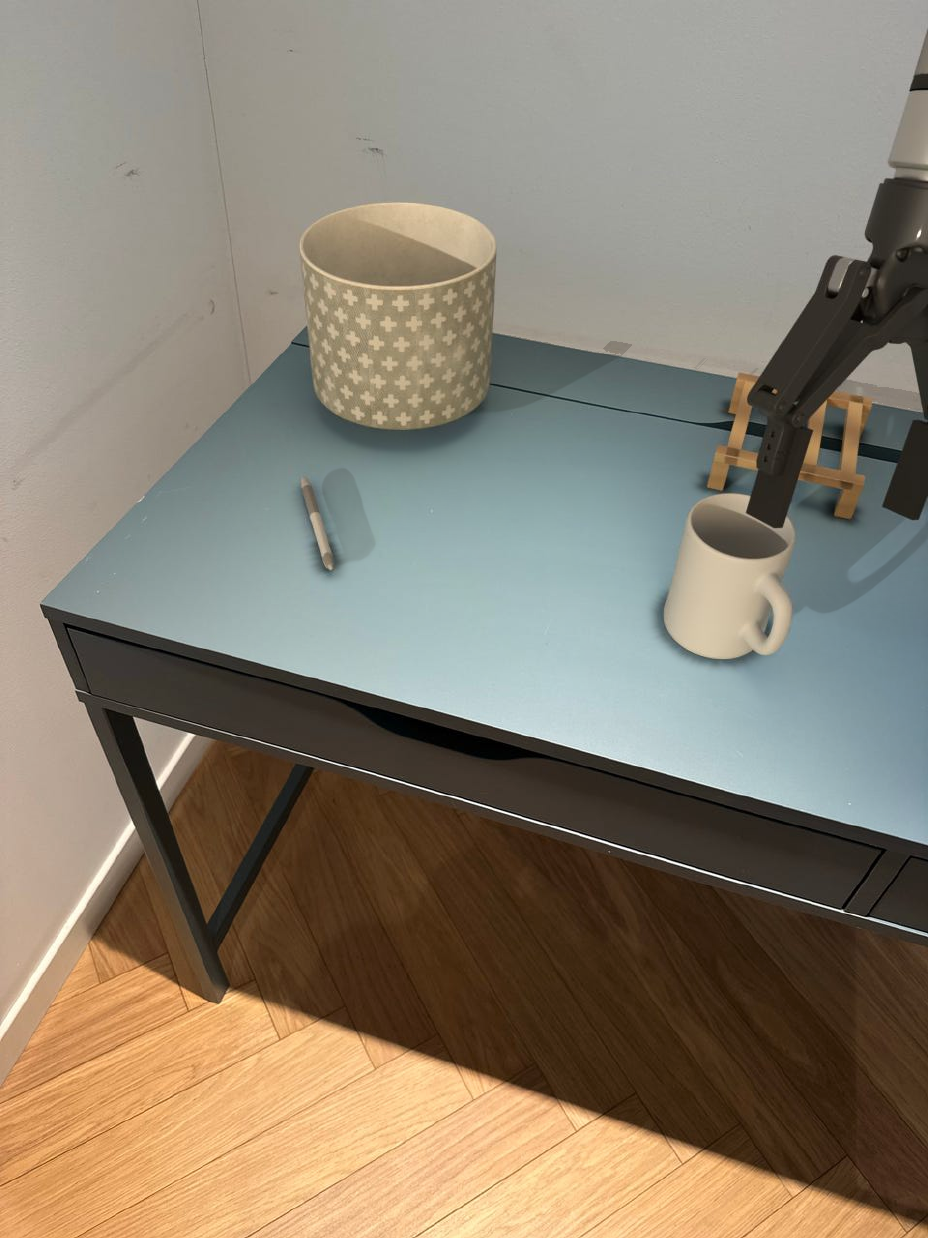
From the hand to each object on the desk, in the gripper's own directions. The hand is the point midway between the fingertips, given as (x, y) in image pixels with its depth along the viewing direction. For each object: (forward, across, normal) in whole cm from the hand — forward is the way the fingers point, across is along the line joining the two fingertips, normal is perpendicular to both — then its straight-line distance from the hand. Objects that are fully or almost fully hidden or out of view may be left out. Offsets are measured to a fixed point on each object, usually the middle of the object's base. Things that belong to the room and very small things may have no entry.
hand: (835, 517), depth 66 cm
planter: (+7, +8, -52) cm, 54 cm away
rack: (+5, -24, -26) cm, 36 cm away
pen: (+15, +23, -37) cm, 46 cm away
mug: (+15, -3, -9) cm, 18 cm away
